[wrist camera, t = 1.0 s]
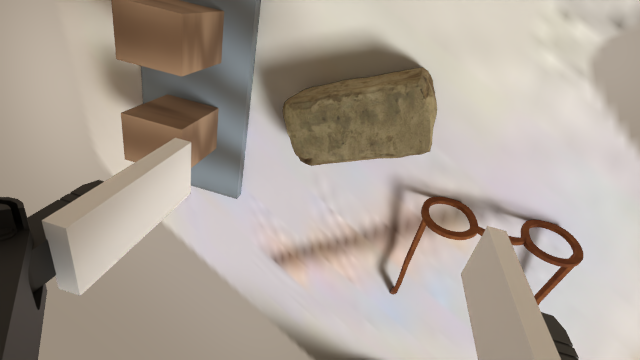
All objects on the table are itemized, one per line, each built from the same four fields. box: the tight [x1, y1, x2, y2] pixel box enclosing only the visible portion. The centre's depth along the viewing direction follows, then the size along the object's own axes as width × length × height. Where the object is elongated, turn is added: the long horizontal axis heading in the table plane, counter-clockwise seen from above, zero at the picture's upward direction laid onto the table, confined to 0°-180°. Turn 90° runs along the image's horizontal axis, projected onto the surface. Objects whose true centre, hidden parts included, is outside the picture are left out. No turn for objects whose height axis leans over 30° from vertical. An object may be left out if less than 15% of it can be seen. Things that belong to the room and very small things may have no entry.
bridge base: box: [111, 0, 261, 199], centre depth 28 cm, size 22×10×7 cm, turn 168°
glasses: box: [390, 197, 583, 305], centre depth 33 cm, size 13×13×5 cm
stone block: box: [283, 67, 437, 166], centre depth 28 cm, size 6×12×5 cm, turn 103°
